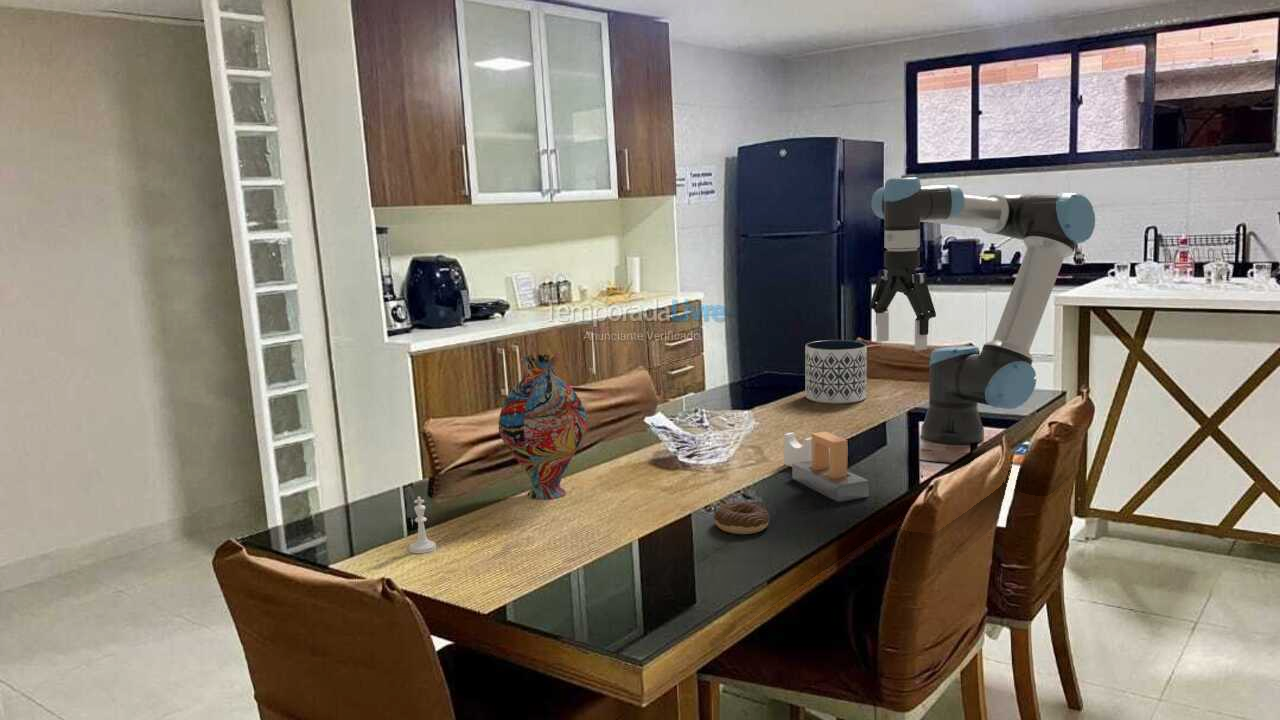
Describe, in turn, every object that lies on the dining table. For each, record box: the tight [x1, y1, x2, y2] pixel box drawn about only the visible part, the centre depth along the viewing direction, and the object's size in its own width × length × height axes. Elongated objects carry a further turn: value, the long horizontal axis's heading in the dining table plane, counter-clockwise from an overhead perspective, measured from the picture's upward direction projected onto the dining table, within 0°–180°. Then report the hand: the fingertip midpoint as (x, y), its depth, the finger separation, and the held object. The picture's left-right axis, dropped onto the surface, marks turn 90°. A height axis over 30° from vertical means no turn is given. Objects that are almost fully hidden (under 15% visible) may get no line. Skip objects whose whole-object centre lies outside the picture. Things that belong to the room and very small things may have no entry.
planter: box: [804, 339, 868, 405], centre depth 290 cm, size 18×18×16 cm
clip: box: [811, 431, 849, 479], centre depth 204 cm, size 4×8×10 cm, turn 22°
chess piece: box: [408, 496, 437, 554], centre depth 176 cm, size 5×5×10 cm
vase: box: [498, 353, 588, 501], centre depth 204 cm, size 19×19×30 cm
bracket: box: [783, 432, 830, 468], centre depth 224 cm, size 13×7×8 cm, turn 129°
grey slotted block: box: [791, 461, 870, 503], centre depth 205 cm, size 8×18×4 cm, turn 22°
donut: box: [713, 501, 771, 535], centre depth 183 cm, size 11×11×4 cm
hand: (901, 345), depth 213 cm, fingers open, 13 cm apart
